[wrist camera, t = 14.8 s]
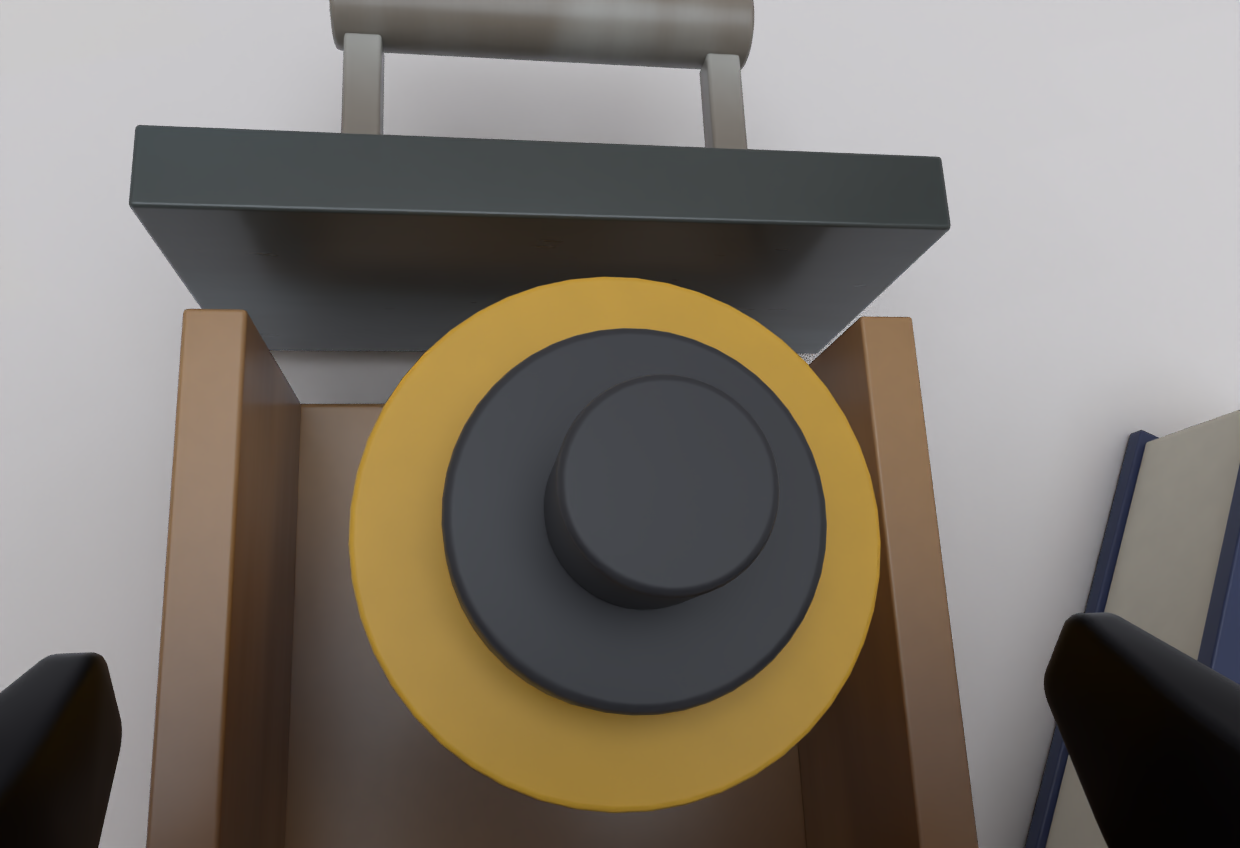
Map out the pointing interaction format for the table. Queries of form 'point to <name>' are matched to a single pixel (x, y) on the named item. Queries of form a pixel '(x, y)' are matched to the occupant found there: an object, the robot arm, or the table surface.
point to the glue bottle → (614, 544)
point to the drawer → (414, 321)
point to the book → (1161, 581)
